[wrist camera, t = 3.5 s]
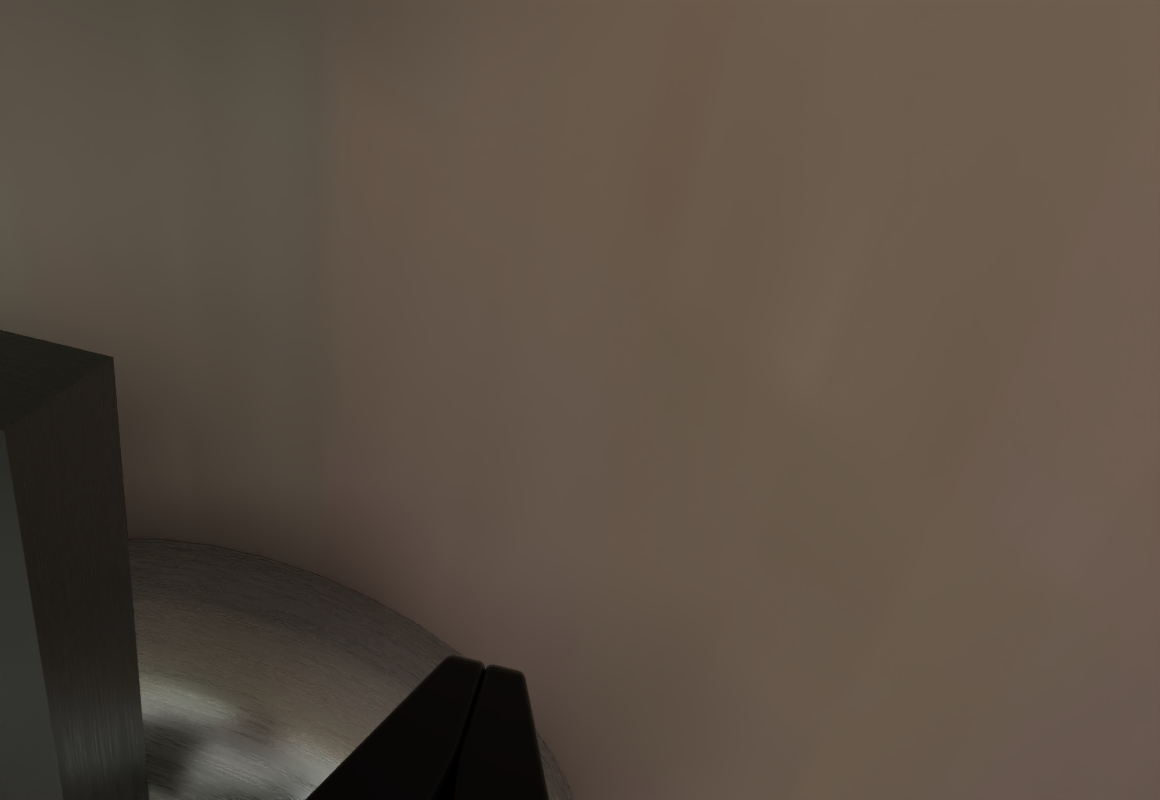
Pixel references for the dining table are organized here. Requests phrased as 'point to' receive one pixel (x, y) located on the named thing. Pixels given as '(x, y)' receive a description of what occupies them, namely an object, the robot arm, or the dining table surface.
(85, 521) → the cooker lid
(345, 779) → the robot arm
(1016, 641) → the dining table surface
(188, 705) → the cooker pot
